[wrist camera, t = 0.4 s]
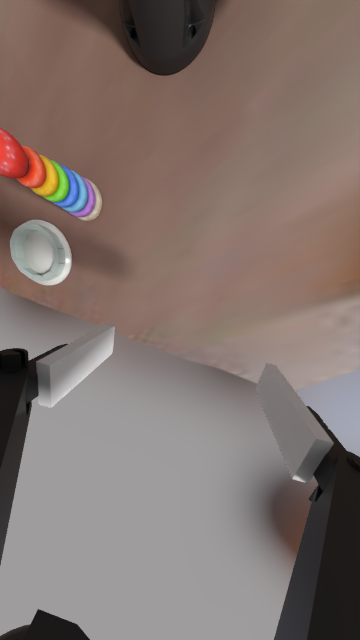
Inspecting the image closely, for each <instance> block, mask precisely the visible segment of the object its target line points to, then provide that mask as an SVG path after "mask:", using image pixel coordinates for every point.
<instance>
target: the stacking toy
mask: <svg viewBox="0 0 360 640" xmlns="http://www.w3.org/2000/svg"><path fill="white" fill-rule="evenodd" d="M0 175H2V176H5V177H8V178H16V179H17V180H18V181H19V182H20V183H21V184H23V185H24V186H26V187H29V188H31V189H32V190H33V191H34V192H35V193H36V194H38V195H40V196H43V197H44V198H45V199H47V200H49V201H51V202H53V203H54V204H56V205H57V206H60V207H61V208H62V209H64V210H66V211H67V212H68V213H70V214H71V215H73V216H75V217H77V218H78V219H80V220H83V221H90V220H93V219H95V218H96V217H97V216H98V215H99V213H100V211H101V208H102V198H101V194H100V192H99V190H98V188H97V187H96V185H95V184H94V183H93V182H91V181H90V180H88V179H86V178H84V177H82V176H80V175H78V174H77V173H76V172H74V171H72V170H70V169H68V168H67V167H65V166H63V165H59V164H58V163H56V162H54V161H52V160H49V159H48V158H46V157H45V156H42V155H39V154H37V153H36V152H35V151H34V150H33V149H31V148H29V147H26V146H21V145H20V144H19V142H18V141H17V140H16V139H15V138H14V137H13V136H12V135H11V134H9V133H8V132H7V131H5V130H3V129H2V128H0Z"/></svg>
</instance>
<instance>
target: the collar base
mask: <svg viewBox="0 0 360 640" xmlns="http://www.w3.org/2000/svg"><path fill="white" fill-rule="evenodd" d="M10 243H11V244H10V249H11V255H12V259H13V261H14V262H15V264H16V265H17V267H18V269H19V270H20V272H22V273H23V274H25V275H26V276H27V277H29V278H30V279H32V280H34V281H35V282H37V283H40V284H43V285H55V284H58V283H61V282H62V281H64V280H65V279H66V277H67V276H68V274H69V273H70V270H71V266H72V253H71V249H70V246H69V243H68V241H67V239H66V238H65V236H64V235H63V233H62V232H61V231H60V230H59V229H58V228H57V227H55V226H54V225H52V224H51V223H49V222H46V221H43V220H30V221H27V222H26V223H23V224H22V225H20V226H19V227H17V228H16V229H15V230H14V231H13V234H12V237H11V240H10Z"/></svg>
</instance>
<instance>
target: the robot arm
mask: <svg viewBox="0 0 360 640" xmlns="http://www.w3.org/2000/svg"><path fill="white" fill-rule="evenodd" d="M119 7H120V14H121V19H122V23H123V27H124V30H125V33H126V36H127V39H128V42H129V45H130V47H131V50H132V52H133V54H134V55H135V57H136V59H137V60H138V61H139V62H140V63H141V65H142V66H144V67H145V68H146V69H148V70H149V71H151V72H153V73H156V74H161V75H168V74H173V73H176V72H178V71H180V70H182V69H184V68H185V67H187V66H188V65H189V64H190V63H191V62H192V61H193V60H194V59H195V58H196V57H197V55H198V54H199V52H200V51H201V49H202V48H203V46H204V44H205V42H206V40H207V38H208V35H209V32H210V29H211V26H212V22H213V17H214V10H215V0H119ZM114 331H115V325H111V324H105V325H103V326H101V327H100V328H98V329H96V330H94V331H92V332H90V333H89V334H87V335H85V336H83V337H81V338H79V339H77V340H75V341H74V342H72V343H70V344H64V345H60V346H57V347H55V348H53V349H51V350H49V351H47V352H45V353H43V354H42V355H39V356H37V357H35V358H34V359H32V360H30V361H28V352H27V350H25V349H20V348H13V349H6V350H2V351H0V564H1V558H2V554H3V549H4V544H5V538H6V533H7V528H8V523H9V518H10V513H11V508H12V503H13V498H14V493H15V488H16V482H17V478H18V473H19V468H20V463H21V457H22V452H23V447H24V442H25V437H26V432H27V427H28V422H29V417H30V411H31V407H32V402H31V401H32V400H33V399H34V398H36V397H37V396H38V402H39V405H43V406H47V407H50V408H51V407H53V406H54V405H55V404H56V403H57V402H58V401H59V400H61V399H62V398H63V397H64V396H65V395H66V394H67V393H68V392H69V391H70V390H72V389H73V388H74V387H75V386H76V385H77V384H79V383H80V382H81V381H82V380H83V379H84V378H85V377H86V376H87V375H89V374H90V373H91V372H92V371H93V370H94V369H95V368H96V367H98V366H99V365H100V364H101V363H102V362H103V361H104V360H105V359H107V358H108V357H109V356H110V355H111V354H112V352H113V341H114ZM255 391H256V394H257V396H258V398H259V401H260V403H261V405H262V408H263V410H264V413H265V415H266V417H267V420H268V422H269V425H270V427H271V429H272V432H273V434H274V436H275V439H276V441H277V443H278V446H279V448H280V451H281V453H282V455H283V458H284V460H285V462H286V465H287V467H288V470H289V472H290V475H291V477H292V479H295V480H298V481H302V482H305V483H309V481H310V480H311V478H312V477H313V475H314V476H315V478H316V480H317V482H318V486H317V487H316V489H315V490H314V492H313V493H312V495H311V496H310V498H309V500H310V501H312V503H311V507H310V510H309V514H308V517H307V521H306V525H305V528H304V532H303V536H302V540H301V543H300V547H299V550H298V554H297V558H296V561H295V565H294V568H293V572H292V576H291V580H290V583H289V587H288V591H287V594H286V598H285V602H284V605H283V609H282V613H281V616H280V620H279V623H278V627H277V631H276V635H275V638H274V640H360V457H359V456H357V455H355V454H353V453H351V452H348V451H346V449H345V448H344V447H343V446H342V444H341V443H340V442H339V441H338V439H337V438H336V437H335V435H334V434H333V433H332V432H331V430H330V429H328V427H327V425H326V424H325V423H323V420H322V419H321V418H320V416H319V415H318V414H317V413H316V412H315V411H314V410H312V409H311V408H310V407H309V406H306V405H305V404H304V402H303V401H302V400H301V399H300V397H299V396H298V394H297V393H296V392H295V390H294V389H293V388H292V386H291V385H290V384H289V382H288V381H287V380H286V378H285V377H284V376H283V374H282V373H281V372H280V370H279V369H278V368H277V366H276V365H272V364H268V363H266V365H265V367H264V370H263V372H262V375H261V377H260V380H259V382H258V385H257V387H256V390H255ZM0 640H90V639H89V638H88V637H87V636H86V635H85V633H84V632H83V631H82V630H81V629H80V627H79V626H78V625H77V624H75V623H72V622H70V621H67V620H64V619H62V618H59V617H57V616H54V615H52V614H49V613H47V612H44V611H42V610H39V609H38V611H37V612H36V615H35V617H34V619H33V621H32V623H31V624H30V625H25V626H22V627H19V628H16V629H13V630H11V631H9V632H7V633H5V634H3V635H1V636H0Z"/></svg>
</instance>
